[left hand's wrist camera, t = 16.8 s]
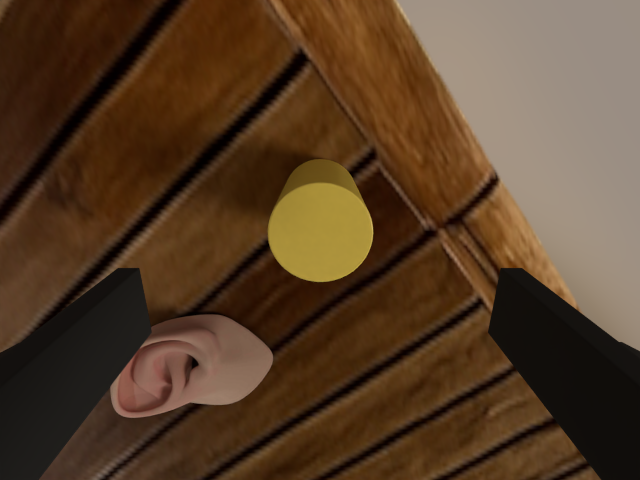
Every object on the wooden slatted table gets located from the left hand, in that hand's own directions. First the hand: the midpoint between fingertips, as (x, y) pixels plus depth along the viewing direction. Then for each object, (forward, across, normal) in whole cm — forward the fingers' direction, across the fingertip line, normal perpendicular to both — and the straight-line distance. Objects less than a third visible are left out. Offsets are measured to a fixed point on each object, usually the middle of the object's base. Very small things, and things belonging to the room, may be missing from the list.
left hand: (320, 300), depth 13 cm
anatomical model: (+16, +12, +16) cm, 26 cm away
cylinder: (+16, 0, 0) cm, 16 cm away
